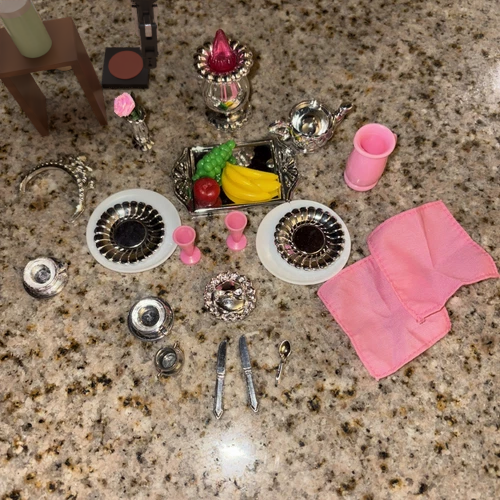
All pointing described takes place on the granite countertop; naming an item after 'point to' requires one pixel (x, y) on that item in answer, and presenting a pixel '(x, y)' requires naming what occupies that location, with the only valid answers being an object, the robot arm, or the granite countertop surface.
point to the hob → (124, 68)
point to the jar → (25, 27)
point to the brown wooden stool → (60, 55)
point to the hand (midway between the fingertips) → (147, 48)
